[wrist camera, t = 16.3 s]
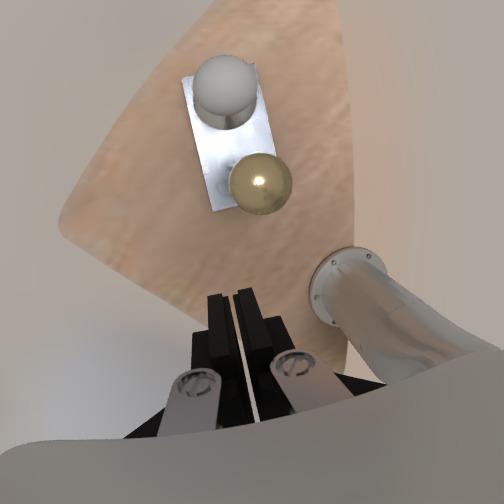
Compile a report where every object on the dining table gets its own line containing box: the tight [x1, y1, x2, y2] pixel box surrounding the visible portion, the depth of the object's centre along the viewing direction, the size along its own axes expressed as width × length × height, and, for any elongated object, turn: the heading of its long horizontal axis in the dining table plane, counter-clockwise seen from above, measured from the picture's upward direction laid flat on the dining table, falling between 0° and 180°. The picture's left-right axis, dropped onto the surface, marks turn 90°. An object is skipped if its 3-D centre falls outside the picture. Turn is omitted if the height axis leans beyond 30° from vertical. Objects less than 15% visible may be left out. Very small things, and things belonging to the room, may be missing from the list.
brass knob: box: [228, 153, 292, 215], centre depth 28 cm, size 5×5×6 cm
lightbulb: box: [192, 55, 258, 116], centre depth 29 cm, size 6×6×11 cm
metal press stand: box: [181, 63, 276, 212], centre depth 32 cm, size 17×9×12 cm, turn 13°
